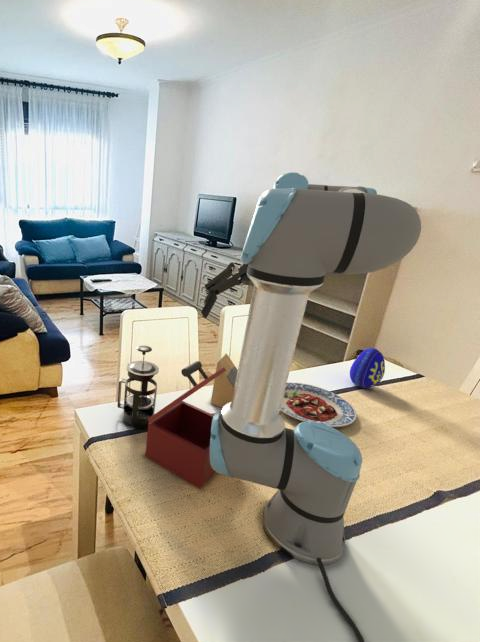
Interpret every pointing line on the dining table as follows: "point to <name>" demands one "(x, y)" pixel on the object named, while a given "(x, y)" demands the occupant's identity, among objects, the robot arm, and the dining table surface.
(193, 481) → the red hinged lid box
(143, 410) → the french press
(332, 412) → the ceramic plate
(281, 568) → the dining table surface
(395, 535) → the dining table surface
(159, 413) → the box lid
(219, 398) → the sandwich container
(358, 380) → the ornament
